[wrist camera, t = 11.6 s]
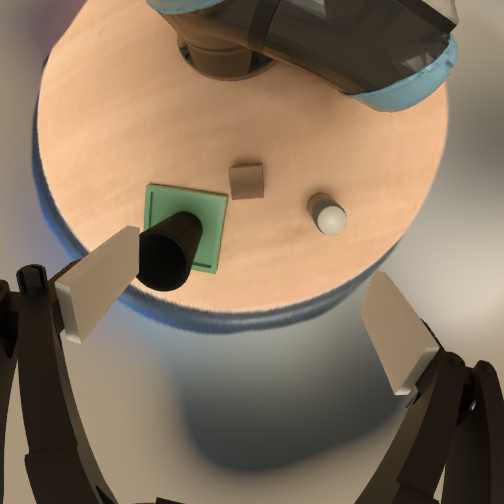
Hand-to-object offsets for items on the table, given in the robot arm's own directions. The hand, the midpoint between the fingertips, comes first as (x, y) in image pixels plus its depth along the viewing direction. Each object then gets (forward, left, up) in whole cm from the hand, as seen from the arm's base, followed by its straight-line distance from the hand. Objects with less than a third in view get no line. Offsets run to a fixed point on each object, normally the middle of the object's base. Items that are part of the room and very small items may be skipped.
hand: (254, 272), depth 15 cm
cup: (+8, -10, -26) cm, 29 cm away
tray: (+8, -11, -27) cm, 30 cm away
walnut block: (-1, -2, -27) cm, 27 cm away
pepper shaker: (+1, +9, -27) cm, 28 cm away
